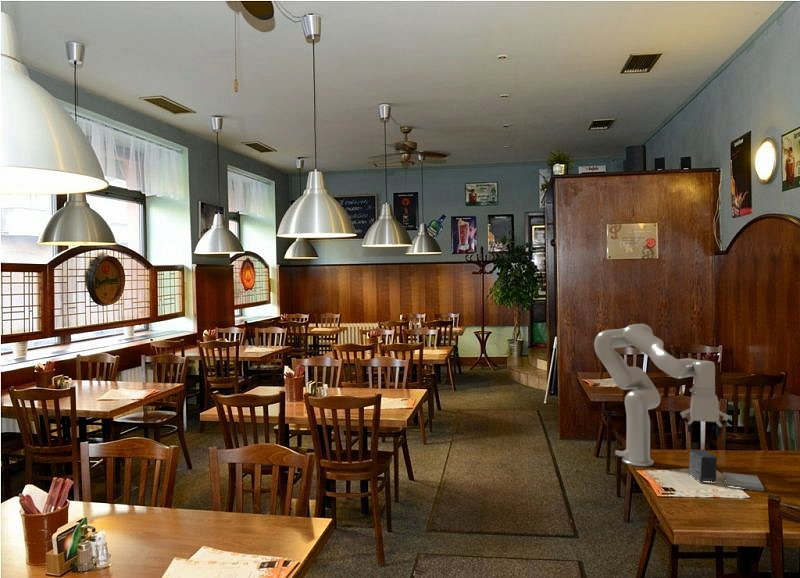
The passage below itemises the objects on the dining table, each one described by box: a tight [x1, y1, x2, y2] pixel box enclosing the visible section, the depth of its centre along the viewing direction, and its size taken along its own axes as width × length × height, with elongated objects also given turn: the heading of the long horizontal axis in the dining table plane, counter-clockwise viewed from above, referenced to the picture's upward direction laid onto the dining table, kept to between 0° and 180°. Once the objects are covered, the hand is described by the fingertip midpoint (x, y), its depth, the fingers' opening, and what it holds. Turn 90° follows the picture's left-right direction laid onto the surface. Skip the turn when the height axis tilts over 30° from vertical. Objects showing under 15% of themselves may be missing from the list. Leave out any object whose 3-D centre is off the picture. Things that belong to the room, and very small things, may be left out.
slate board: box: [722, 471, 765, 492], centre depth 237 cm, size 12×15×2 cm
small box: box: [688, 449, 718, 483], centre depth 242 cm, size 11×6×10 cm, turn 179°
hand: (704, 435), depth 242 cm, fingers open, 9 cm apart
